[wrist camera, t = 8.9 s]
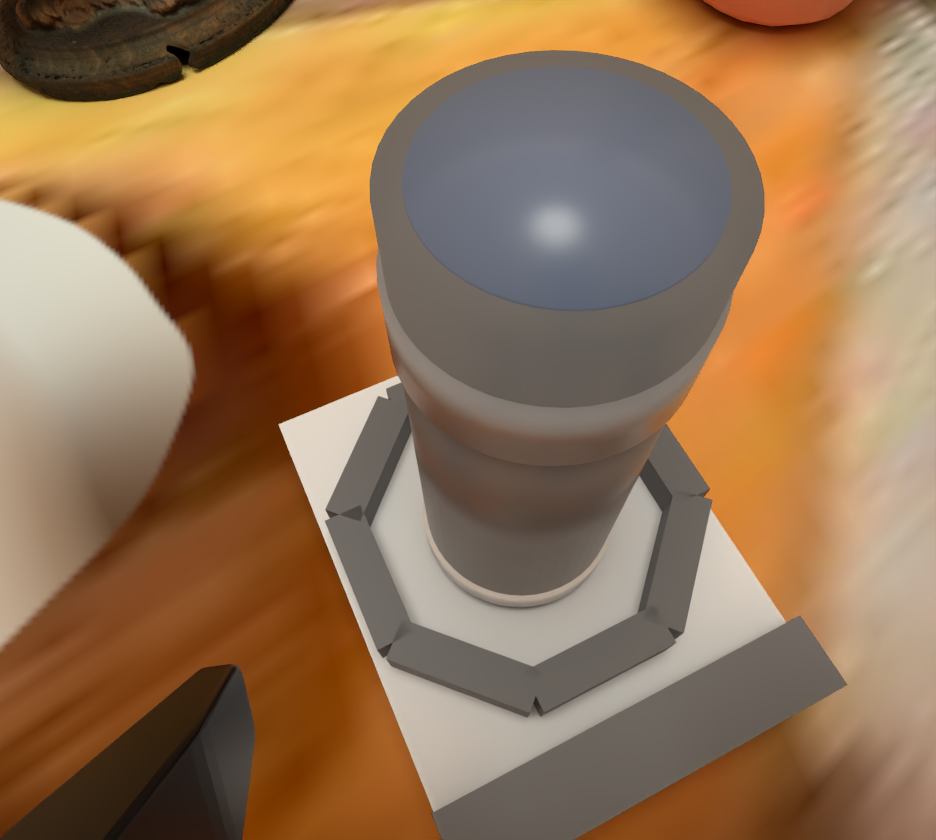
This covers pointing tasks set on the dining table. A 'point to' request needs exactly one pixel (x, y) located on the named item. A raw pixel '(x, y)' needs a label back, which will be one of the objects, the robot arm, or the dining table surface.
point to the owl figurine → (121, 41)
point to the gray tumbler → (551, 297)
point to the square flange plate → (553, 640)
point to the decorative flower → (779, 10)
